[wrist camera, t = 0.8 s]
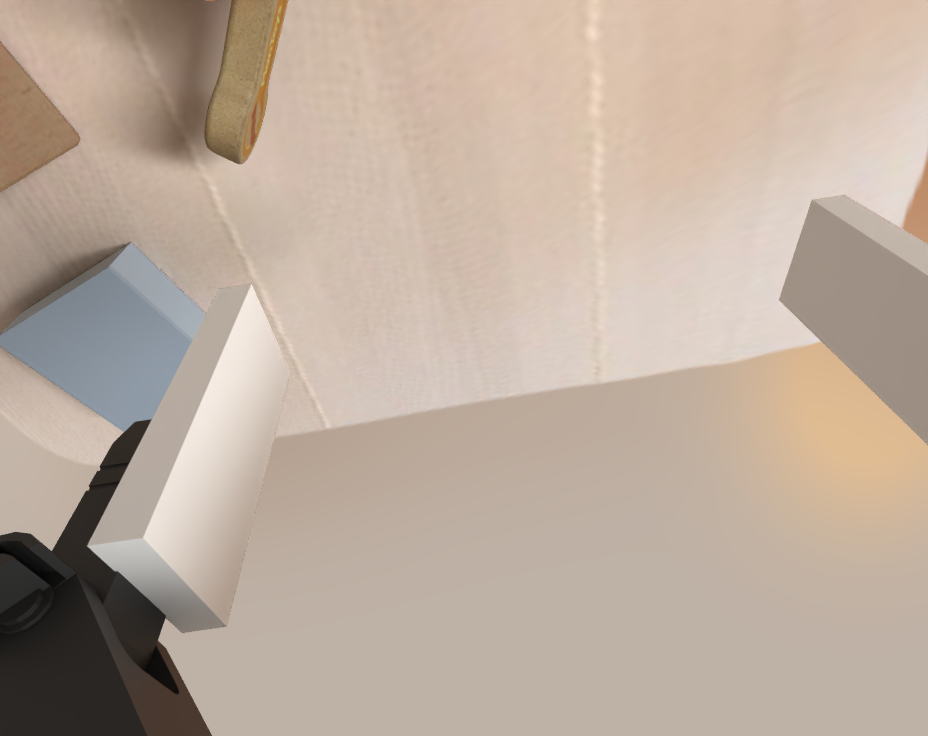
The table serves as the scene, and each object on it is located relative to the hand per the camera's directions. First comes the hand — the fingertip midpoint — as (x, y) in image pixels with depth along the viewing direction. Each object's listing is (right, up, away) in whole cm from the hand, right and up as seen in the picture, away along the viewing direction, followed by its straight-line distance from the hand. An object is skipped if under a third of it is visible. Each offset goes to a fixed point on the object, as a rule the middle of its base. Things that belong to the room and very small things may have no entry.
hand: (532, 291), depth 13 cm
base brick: (-29, +1, +31) cm, 43 cm away
